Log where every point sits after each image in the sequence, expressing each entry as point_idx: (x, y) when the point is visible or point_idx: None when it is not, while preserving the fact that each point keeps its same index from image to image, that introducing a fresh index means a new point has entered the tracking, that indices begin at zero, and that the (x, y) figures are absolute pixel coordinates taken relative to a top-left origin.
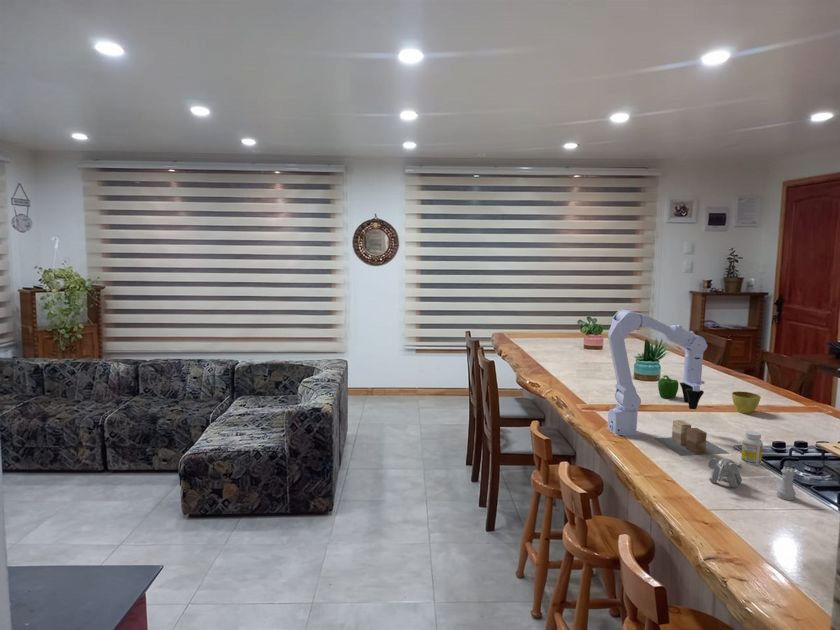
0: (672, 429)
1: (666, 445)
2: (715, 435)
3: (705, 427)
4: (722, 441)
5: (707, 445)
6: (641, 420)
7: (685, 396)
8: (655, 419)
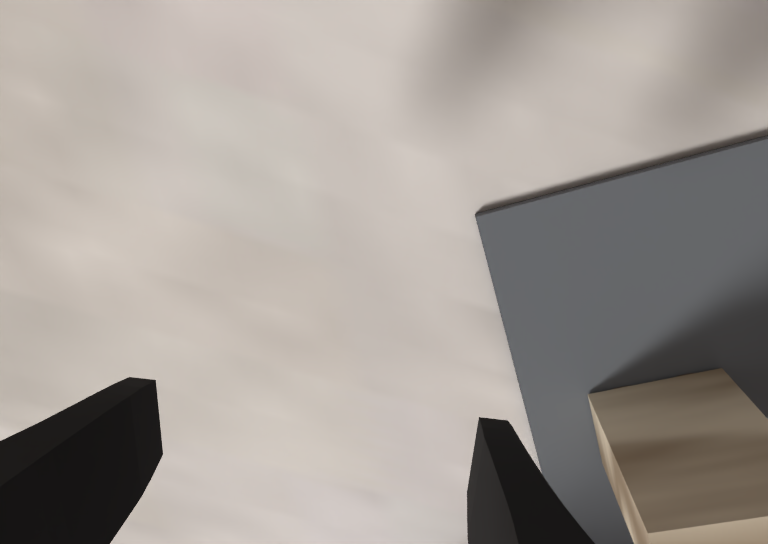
0: (630, 533)
1: None
2: (391, 19)
3: (145, 41)
4: (580, 8)
5: (745, 225)
6: (133, 511)
7: (98, 531)
8: None
